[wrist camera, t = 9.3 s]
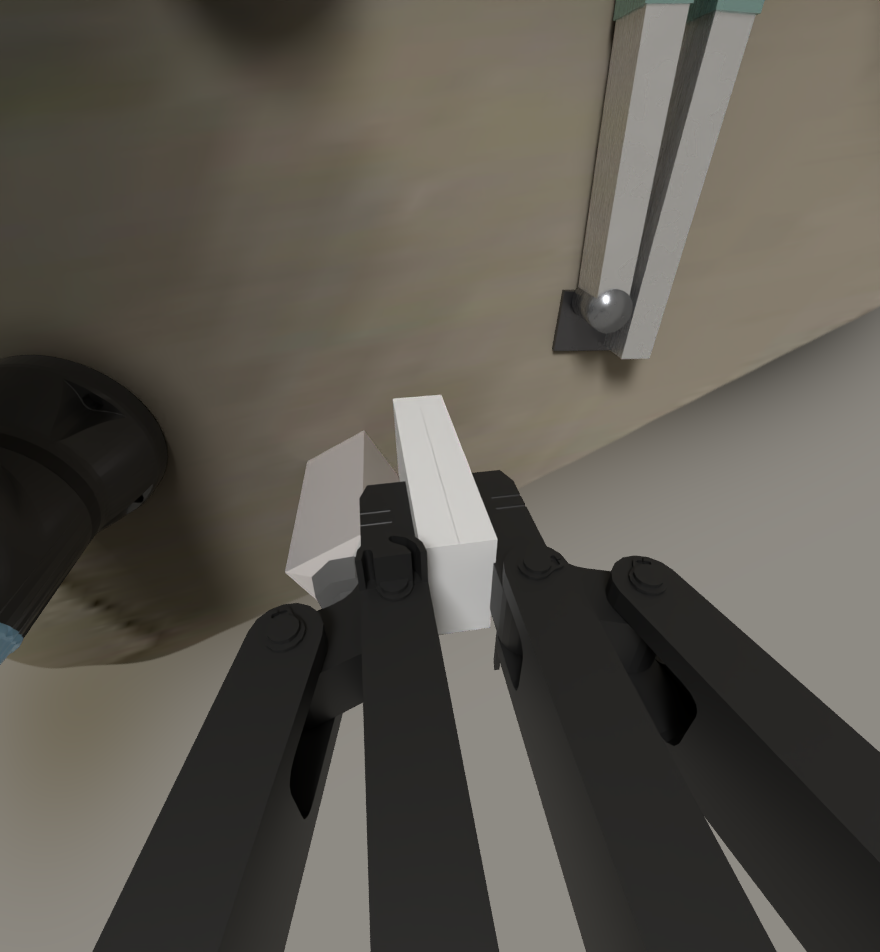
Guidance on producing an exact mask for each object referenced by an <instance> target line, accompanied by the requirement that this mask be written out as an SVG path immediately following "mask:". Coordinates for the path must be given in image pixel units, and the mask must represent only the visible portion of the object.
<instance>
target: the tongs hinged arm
mask: <svg viewBox="0 0 880 952" xmlns="http://www.w3.org/2000/svg"><path fill="white" fill-rule="evenodd" d="M693 3H694V0H616V3H615V11H614V18H613V21H616V25H615V32H614V39H613V46H612V53H611V60H610V67H609V74H608V81H607V88H606V95H605V102H604V109H603V116H602V123H601V130H600V137H599V144H598V151H597V158H596V165H595V172H594V179H593V186H592V193H591V200H590V207H589V214H588V221H587V228H586V235H585V242H584V249H583V256H582V263H581V270H580V277H579V284H578V288H577V289H576V291H575V293H574V295H573V299H572V307H573V310H574V312H575V313H576V314H577V315H578V316H579V317H580V318H582V319H583V320H584V321H586V322H587V323H588V324H590V325H591V326H592V327H594V328H595V329H596V330H598V331H599V332H602V333H612V332H615V331H617V330H619V329H620V328H622V327H623V326H624V325H625V324H626V322H627V321H628V320H629V318H630V316H631V313H632V307H633V305H632V300H631V297H630V291H631V286H632V281H633V276H634V271H635V267H636V262H637V257H638V252H639V247H640V242H641V238H642V233H643V228H644V223H645V218H646V213H647V209H648V204H649V199H650V194H651V189H652V184H653V180H654V175H655V170H656V165H657V160H658V155H659V151H660V146H661V141H662V136H663V131H664V126H665V122H666V117H667V112H668V107H669V102H670V97H671V92H672V88H673V83H674V78H675V73H676V68H677V63H678V59H679V54H680V49H681V44H682V39H683V34H684V30H685V25H686V20H687V15H688V10H689V5H690V4H693Z"/></svg>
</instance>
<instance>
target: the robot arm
mask: <svg viewBox="0 0 880 952" xmlns="http://www.w3.org/2000/svg"><path fill="white" fill-rule="evenodd" d="M393 408H394V421H395V434H396V446H397V459H398V472H399V478H400V482H394V483H384V484H375V485H367V486H366V488H365V490H364V491H363V493H362V495H361V496H360V498H359V505H360V536H361V546H360V547H359V549H358V550H357V553H356V557H355V566H356V572H357V578H358V584H357V586H356V587H355V588H354V590H353V591H352V592H351V593H350V594H349V595H347V596H346V597H345V598H344V599H342V600H340V601H338V602H336V603H335V604H332V605H330V606H328V607H325V608H323V609H321V610H318V611H316V610H314V609H313V608H312V607H311V606H308V605H304V604H299V603H293V604H284V605H281V606H278V607H276V608H273V609H271V610H269V611H267V612H266V613H265V614H264V615H262V616H261V617H260V618H258V619H257V620H256V621H255V623H254V624H253V626H252V627H251V629H250V630H249V631H248V633H247V635H246V637H245V639H244V641H243V643H242V645H241V648H240V650H239V652H238V654H237V656H236V658H235V660H234V662H233V664H232V666H231V668H230V670H229V672H228V674H227V676H226V678H225V680H224V682H223V685H222V687H221V689H220V691H219V693H218V695H217V697H216V699H215V701H214V703H213V705H212V707H211V709H210V711H209V713H208V715H207V717H206V719H205V722H204V724H203V726H202V728H201V730H200V732H199V734H198V736H197V738H196V740H195V742H194V744H193V746H192V748H191V750H190V753H189V754H188V757H187V759H186V761H185V763H184V765H183V767H182V769H181V771H180V773H179V775H178V777H177V779H176V781H175V783H174V785H173V787H172V789H171V791H170V794H169V795H168V798H167V800H166V802H165V804H164V806H163V808H162V810H161V812H160V814H159V816H158V818H157V820H156V822H155V824H154V826H153V828H152V830H151V833H150V835H149V837H148V839H147V841H146V843H145V845H144V847H143V849H142V851H141V853H140V855H139V857H138V859H137V861H136V863H135V865H134V867H133V870H132V872H131V874H130V876H129V878H128V880H127V882H126V884H125V886H124V888H123V890H122V892H121V894H120V896H119V898H118V900H117V902H116V905H115V906H114V908H113V911H112V913H111V915H110V917H109V919H108V921H107V923H106V925H105V927H104V929H103V931H102V933H101V935H100V937H99V940H98V941H97V943H96V945H95V948H94V950H93V952H284V949H285V945H286V941H287V937H288V933H289V929H290V924H291V921H292V917H293V912H294V909H295V904H296V900H297V896H298V892H299V888H300V884H301V880H302V876H303V872H304V868H305V864H306V860H307V856H308V852H309V848H310V844H311V840H312V835H313V831H314V827H315V823H316V819H317V815H318V811H319V807H320V803H321V799H322V795H323V791H324V786H325V783H326V779H327V774H328V771H329V766H330V763H331V758H332V754H333V750H334V746H335V742H336V738H337V734H338V730H339V726H340V722H341V718H342V714H343V713H344V712H345V711H347V710H349V709H351V708H353V707H355V706H357V705H359V704H361V703H363V712H364V713H363V714H364V746H365V780H366V813H367V845H368V878H369V912H370V944H371V952H499V948H498V943H497V937H496V932H495V927H494V922H493V917H492V911H491V907H490V901H489V896H488V891H487V886H486V880H485V875H484V870H483V865H482V860H481V855H480V849H479V844H478V839H477V834H476V828H475V823H474V818H473V813H472V808H471V803H470V797H469V792H468V786H467V781H466V776H465V772H464V766H463V760H462V755H461V750H460V745H459V740H458V734H457V729H456V724H455V719H454V714H453V708H452V703H451V698H450V693H449V688H448V682H447V677H446V672H445V667H444V662H443V656H442V651H441V646H440V641H439V635H443V634H450V633H456V632H463V631H470V630H477V629H483V628H490V622H491V614H492V617H493V621H494V623H495V627H496V630H497V634H496V643H495V653H494V670H498V669H499V667H500V663H501V667H502V670H503V674H504V677H505V680H506V684H507V687H508V690H509V694H510V697H511V700H512V704H513V707H514V710H515V714H516V717H517V721H518V724H519V727H520V731H521V734H522V737H523V740H524V744H525V748H526V751H527V754H528V757H529V761H530V764H531V767H532V771H533V774H534V778H535V781H536V784H537V788H538V791H539V795H540V798H541V801H542V805H543V808H544V811H545V815H546V818H547V822H548V825H549V828H550V832H551V835H552V838H553V841H554V845H555V848H556V852H557V855H558V859H559V862H560V865H561V868H562V872H563V875H564V879H565V882H566V885H567V888H568V892H569V896H570V899H571V902H572V906H573V909H574V912H575V916H576V919H577V922H578V925H579V929H580V932H581V936H582V939H583V943H584V946H585V949H586V952H776V950H775V948H774V946H773V944H772V942H771V941H770V938H769V937H768V935H767V933H766V931H765V929H764V928H763V925H762V924H761V922H760V920H759V918H758V916H757V914H756V912H755V911H754V909H753V907H752V905H751V903H750V901H749V899H748V897H747V896H746V894H745V892H744V890H743V888H742V886H741V884H740V883H739V881H738V879H737V877H736V875H735V873H734V871H733V870H732V868H731V866H730V864H729V862H728V860H727V858H726V856H725V855H724V853H723V851H722V849H721V847H720V845H719V844H718V842H717V840H716V838H715V836H714V834H713V832H712V830H711V829H710V827H709V825H708V823H707V821H706V819H707V820H708V822H709V823H710V824H711V826H712V827H713V828H714V830H715V831H716V832H717V834H718V835H719V836H720V838H721V839H722V840H723V842H724V843H725V844H726V846H727V847H728V848H729V850H730V851H731V852H732V853H733V855H734V856H735V857H736V859H737V860H738V861H739V863H740V864H741V865H742V867H743V868H744V869H745V871H746V872H747V873H748V875H749V876H750V877H751V878H752V880H753V881H754V882H755V884H756V885H757V886H758V888H759V889H760V890H761V891H762V893H763V894H764V896H765V897H766V898H767V900H768V901H769V902H770V904H771V905H772V906H773V907H774V909H775V910H776V911H777V913H778V914H779V915H780V917H781V918H782V919H783V920H784V922H785V923H786V925H787V926H788V927H789V928H790V930H791V931H792V933H793V934H794V935H795V936H796V938H797V939H798V940H799V942H800V943H801V944H802V946H803V947H804V948H805V950H806V951H807V952H880V752H879V751H878V750H877V749H875V748H874V747H873V746H872V745H871V744H870V743H869V742H867V741H866V740H865V739H864V738H863V737H862V736H861V735H860V734H858V733H857V732H856V731H855V730H854V729H853V728H852V727H850V726H849V725H848V724H847V723H846V722H845V721H844V720H842V719H841V718H840V717H839V716H838V715H837V714H835V712H833V711H832V710H831V709H830V708H829V707H828V706H826V705H825V704H824V703H823V702H822V701H821V700H820V699H819V698H818V697H816V696H815V695H814V694H813V693H812V692H810V690H808V689H807V688H806V687H805V686H804V685H803V684H802V683H800V682H799V681H798V680H797V679H796V678H795V677H794V676H792V675H791V674H790V673H789V672H788V671H787V670H786V669H785V668H783V667H782V666H781V665H780V664H779V663H778V662H777V661H775V660H774V659H773V658H772V657H771V656H770V655H769V654H768V653H766V652H765V651H764V650H763V649H762V648H761V647H760V646H759V645H757V644H756V643H755V642H754V641H753V640H752V639H751V638H749V637H748V636H747V635H746V634H745V633H744V632H742V631H741V630H740V629H739V628H738V627H737V626H736V625H735V624H733V623H732V622H731V621H730V620H729V619H728V618H727V617H726V616H724V615H723V614H722V613H721V612H720V611H719V610H718V609H717V608H715V607H714V606H713V605H712V604H711V603H710V602H709V601H707V600H706V599H705V598H704V597H703V596H702V595H701V594H699V593H698V592H697V591H696V590H695V589H694V588H693V587H692V586H690V585H689V584H688V583H687V582H686V581H685V580H683V579H682V578H681V577H680V576H679V575H678V574H677V573H676V572H674V571H673V570H672V569H671V568H669V567H668V566H666V565H665V564H663V563H661V562H659V561H657V560H654V559H651V558H649V557H641V556H629V557H623V558H622V559H620V560H619V561H617V562H616V563H615V564H614V566H613V568H612V570H611V571H603V570H595V569H587V568H581V567H577V566H573V565H571V564H568V562H567V561H566V560H565V559H564V557H563V556H562V555H561V554H560V553H558V552H556V551H555V550H553V549H552V548H549V547H547V546H546V544H545V543H544V540H543V538H542V537H541V535H540V533H539V531H538V529H537V527H536V525H535V523H534V521H533V519H532V517H531V515H530V513H529V511H528V509H527V507H525V503H524V501H523V499H522V497H521V496H520V493H519V491H518V489H517V487H516V485H515V483H514V481H513V480H512V479H510V478H509V477H508V476H507V475H505V474H504V473H503V472H502V471H500V470H496V471H486V472H477V473H471V470H470V468H469V465H468V462H467V460H466V457H465V455H464V452H463V450H462V447H461V444H460V442H459V439H458V437H457V434H456V432H455V429H454V426H453V424H452V421H451V419H450V416H449V414H448V411H447V409H446V406H445V403H444V401H443V398H442V396H441V395H433V396H421V397H409V398H396V399H393ZM166 465H167V448H166V443H165V440H164V436H163V434H162V431H161V429H160V427H159V425H158V424H157V422H156V420H155V419H154V417H153V416H152V415H151V413H150V412H149V411H148V409H147V408H146V407H145V406H144V405H143V404H142V403H141V402H140V401H139V400H138V399H137V398H136V397H135V396H134V395H133V394H132V393H130V392H129V391H128V390H127V389H125V388H124V387H123V386H121V385H120V384H118V383H117V382H115V381H114V380H112V379H111V378H109V377H107V376H105V375H104V374H102V373H100V372H98V371H96V370H93V369H91V368H89V367H86V366H84V365H81V364H78V363H75V362H72V361H69V360H65V359H60V358H56V357H49V356H41V355H20V356H12V357H7V358H3V359H0V665H1V663H2V662H3V661H4V660H5V659H6V657H7V656H8V655H9V654H10V653H12V652H14V651H15V650H16V649H17V648H19V646H20V645H21V643H22V641H23V638H24V637H25V635H26V634H27V633H28V631H29V630H30V628H31V627H32V625H33V624H34V622H35V621H36V620H37V618H38V617H39V615H40V614H41V612H42V611H43V609H44V608H45V607H46V605H47V604H48V602H49V601H50V599H51V598H52V596H53V595H54V593H55V592H56V591H57V589H58V588H59V586H60V585H61V583H62V582H63V580H64V579H65V578H66V576H67V575H68V573H69V572H70V570H71V569H72V567H73V566H74V565H75V563H76V562H77V560H78V559H79V557H80V556H81V554H82V553H83V552H84V550H85V549H86V547H87V546H88V544H89V543H90V541H91V540H92V539H93V537H94V536H95V535H96V534H97V533H98V532H100V531H101V530H103V529H105V528H106V527H108V526H109V525H111V524H113V523H114V522H116V521H118V520H119V519H121V518H122V517H124V516H125V515H126V514H128V513H130V512H132V511H133V510H135V509H136V508H138V507H139V506H141V505H142V504H143V503H144V502H145V501H146V500H147V499H148V498H149V497H150V496H151V494H152V493H153V491H154V490H155V488H156V487H157V485H158V484H159V482H160V481H161V479H162V477H163V475H164V472H165V469H166ZM705 818H706V819H705Z"/></svg>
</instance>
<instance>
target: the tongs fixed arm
mask: <svg viewBox="0 0 880 952" xmlns="http://www.w3.org/2000/svg"><path fill="white" fill-rule="evenodd" d="M764 1H765V0H694V3H693V4H690V5H689V10H688V15H687V20H686V25H685V30H684V34H683V39H682V44H681V49H680V54H679V59H678V63H677V68H676V73H675V78H674V83H673V88H672V92H671V97H670V102H669V107H668V112H667V117H666V122H665V126H664V131H663V136H662V141H661V146H660V151H659V155H658V160H657V165H656V170H655V175H654V180H653V184H652V189H651V194H650V199H649V204H648V209H647V213H646V218H645V223H644V228H643V233H642V238H641V242H640V247H639V252H638V257H637V262H636V267H635V271H634V276H633V281H632V286H631V291H630V297H631V300H632V305H633V307H632V313H631V316H630V318H629V320H628V321H627V322H626V324H625V325H624V326H623V327H622V328H620V329H619V330H617V331H615V332H612V333H602V332H599V331H598V330H596V329H595V328H594V327H592V326H591V325H590V324H588V323H587V322H586V321H584V320H583V319H582V318H580V317H579V316H578V315H577V314H576V313H575V312H574V310H573V307H572V299H573V295H574V293H575V291H576V290H563V291H562V296H561V302H560V308H559V313H558V319H557V324H556V330H555V335H554V341H553V347H552V349H553V350H554V351H585V350H611V351H612V352H613V353H614V354H616V355H617V356H618V357H619V358H621V359H649V358H650V355H651V352H652V349H653V345H654V342H655V339H656V336H657V332H658V329H659V326H660V323H661V320H662V316H663V313H664V310H665V307H666V303H667V300H668V297H669V294H670V290H671V287H672V284H673V281H674V277H675V274H676V271H677V268H678V264H679V261H680V258H681V255H682V251H683V248H684V245H685V242H686V238H687V235H688V232H689V229H690V226H691V222H692V219H693V216H694V213H695V209H696V206H697V203H698V200H699V196H700V193H701V190H702V187H703V183H704V180H705V177H706V174H707V170H708V167H709V164H710V161H711V157H712V154H713V151H714V148H715V145H716V141H717V138H718V135H719V132H720V128H721V125H722V122H723V119H724V115H725V112H726V109H727V106H728V102H729V99H730V96H731V93H732V89H733V86H734V83H735V80H736V76H737V73H738V70H739V67H740V64H741V60H742V57H743V54H744V51H745V47H746V44H747V41H748V38H749V34H750V31H751V28H752V25H753V21H754V18H755V15H757V14H760V13H761V10H762V7H763V4H764Z"/></svg>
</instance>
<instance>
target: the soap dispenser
mask: <svg viewBox="0 0 880 952" xmlns="http://www.w3.org/2000/svg"><path fill="white" fill-rule="evenodd" d="M394 482H400V478H399V476H398V475H397V473H396V472H395V471H394V469H393V468H392V467H391V465H390V464H389V463H388V461H387V460H386V459H385V457H384V456H383V455H382V453H381V452H380V451H379V449H378V448H377V447H376V445H375V444H374V443H373V441H372V440H371V439H370V437H369V436H368V435H367V433H366V432H365V431H362V432H360V433H358V434H356V435H355V436H353V437H351V438H349V439H347V440H345V441H344V442H342V443H340V444H338V445H336V446H335V447H333V448H331V449H329V450H327V451H325V452H324V453H322V454H320V455H318V456H316V457H315V458H313V459H311V460H309V461H307V466H306V471H305V476H304V481H303V486H302V491H301V496H300V501H299V506H298V511H297V516H296V521H295V526H294V531H293V536H292V541H291V546H290V550H289V555H288V560H287V565H286V570H285V573H286V574H287V575H289V576H290V577H291V578H292V579H293V580H294V581H295V582H297V583H298V584H299V585H300V586H301V587H302V588H304V589H305V590H306V591H307V592H308V593H309V594H310V595H312V596H313V597H314V598H315V599H316V600H317V601H318V603H319V604H320V606H321V608H322V609H323V608H325V607H328V606H330V605H332V604H335V603H336V602H338V601H340V600H342V599H344V598H345V597H346V596H347V595H349V594H350V593H351V592H352V591H353V590H354V588H355V587H356V586H357V584H358V578H357V572H356V566H355V557H356V553H357V550H358V549H359V547H360V546H361V536H360V505H359V498H360V496H361V495H362V493H363V491H364V490H365V488H366V486H367V485H375V484H384V483H394Z"/></svg>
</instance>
